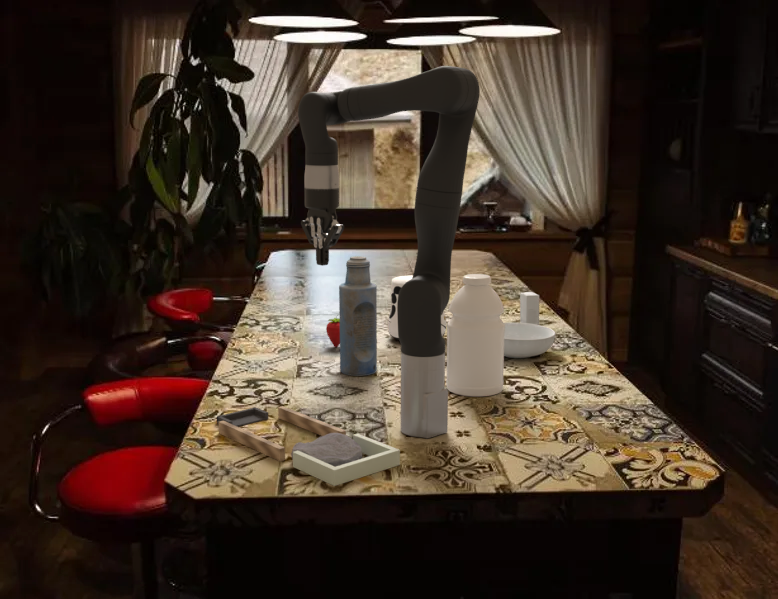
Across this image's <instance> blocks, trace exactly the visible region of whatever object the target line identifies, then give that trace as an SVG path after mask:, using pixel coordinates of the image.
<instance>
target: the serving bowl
mask: <svg viewBox="0 0 778 599" xmlns="http://www.w3.org/2000/svg"><path fill="white" fill-rule="evenodd" d="M504 323H505V336H504V357H505V358H510V359H511V358H513V359H525V358H530V357H535V356H539V355H542V354H544V353H545V352H547V351H548V350H550V348H551V347H553V344H554V342H555V338H556V331H555V330H553V329H552V328H550V327H547V326H544V325H540V324H539V325H536V324H528V323H520V322H504Z"/></svg>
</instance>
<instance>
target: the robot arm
mask: <svg viewBox="0 0 778 599" xmlns="http://www.w3.org/2000/svg"><path fill="white" fill-rule="evenodd" d="M479 99H480V82H479V80H478V78H477V76H476V74H475V73H474V72H473V71H472V70H470V69H468V68H464V67H459V66H458V67H457V66H452V65H442V66H441V65H440V66H438V67H435V68H432V69H430V70H427V71H424V72H421V73H418V74H416V75H413V76H409V77H406V78H403V79H399V80H394V81H387V82H379V83H372V84H362V85H359V86H358V85H357V86H352V87H348V88H345V89H343V90H342V91H331V92H330V91H329V92H328V91H327V92H325V91H311V92H307V93H305V94H304V95H303V96H302V97H301V99H300V100H299V101H300V102H299V103H298V107H297V109H298V111H297V112H298V113H297V115H298V122H299V126H300V127H299V128H300V130H301V136H302V138H303V142H304V145H305V152H304V153H305V154H304V155H305V157H304V158H305V167H304V168H305V170H304V207H305V208H307V209H308V212H307V217H306V218H305V220H301V221H300V225H301V228H302V230H303V232H304V233H305V236H306V239H307V240H308V242H309V244H310V245H313V246H314V248H315V261H316V265H318V266H327V265H329V262H330V257H329V256H330V248H331V247H334V246H336V245H337V243H338V241H339V239H340V237H341V236H342V233H343V232H344V230H345V225H344V224H340V223H339V221H338V215H337V212H336V209H338V208H339V207H340V173H339V147H338V146H339V145H338V141H337V140H336V139H335V138H333V137H331V136H330V135H329V130H328V127H327V126H336V125H341V124H346V123H348V122H360V121H366V120H374V119H375V120H376V119H379V118H385V117H387V116H391V115H393V114H396V113H401V112H409V111H412V112H413V111H419V112H421V111H422V112H435V113H438V114H439V116H438V127H437V131H436V132H437V133H436V135H435V140H434V142H433V146H432V147H431V150H430V151H429V154H428V155H427V157H426V159H425V161H424V163H423V166H422V167H421V170H420V172H419V175H418V180H417V184H416V190H415V191H416V192H415V200H414V223H415V230H416V238H417V253H416V260H415V265H414V270H413V274H412V275H413V277H412V279H411V280H409V281H408V282H406V283H405V284H404V285H403V286H402V287H401V289H400V291H399V295H398V303H397V315H398V337H399V340H398V341H399V342H400V431H401V433H402V434H403V435H407V436H409V437H415V438H424V439H430V438H433V437H436V436H440V435H442V434H443V435H444V434H446V433H448V424H449V423H448V422H449V421H448V417H449V415H448V414H449V411H448V410H449V390H448V389H447V387H446V388H445V384H446V379H445V377H446V372H445V371H446V341H445V338H444V336H443V337H442V334H441V312H442V311H444V312H445V309H446V308H447V306H448V304H449V302H450V296H451V271H452V270H451V269H452V266H451V265H452V255H453V248H454V243H455V237H456V235H457V228H458V227H457V226H458V221H459V215H460V210H461V204H462V197H463V196H462V195H463V187H464V178H465V174H466V173H465V172H466V165H467V158H468V151H469V144H470V138H471V134H472V129H473V126H474V121H475V117H476V113H477V108H478V105H479V102H480V101H479Z"/></svg>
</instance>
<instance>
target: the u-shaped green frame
mask: <svg viewBox="0 0 778 599" xmlns="http://www.w3.org/2000/svg"><path fill="white" fill-rule="evenodd" d="M352 439H353V440H354V441H355V442H356V443H358V444H359V446H360V448H361V451H362V454H364V455H367V456H366V457H362V459H359V460H356V461H353V462H349V463H346V464H343V465H340V466H336V467H335V466H332V465H330V464H328V463H325V462H323V461H321V460H319V459H316V458H314V457H312V456H309V455H307V454H305V453H303V452H300V451H294V452H293V459H292V466H293V468H294V469H297V470H298V471H299V470H300V471H301V472H303V473H305V474H307V475H310V476H312V477H314V478H317V479H318V480H321V481H322V482H325V483H327V484H329V485H331V486H334V487H335V486H339V485H341V484H346V483H348V482H351V481H355V480H357V479H360V478H364V477H366V476H369V475H373V474H375V473H379V472H382V471H385V470H388V469H390V468H394V467H398V466H400V464H401V450H400V449H399V448H396V447H394V446H391V445H388V444H385V443H383V442H380V441H378V440H375V439H372V438H370V437H367V436H364V435H363V434H360V433H355V434H352Z"/></svg>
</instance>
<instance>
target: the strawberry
mask: <svg viewBox="0 0 778 599" xmlns="http://www.w3.org/2000/svg"><path fill="white" fill-rule="evenodd" d="M338 316H339V314H337V315H336V316H335V317H334V318H330V319H328V320H327V321H328V323H327V325H326V328H325V330H326V335H327V337H328V339H329V341H330V342H331V344H332V345H333V347H334V348H338V347H340V318H337V317H338Z"/></svg>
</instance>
